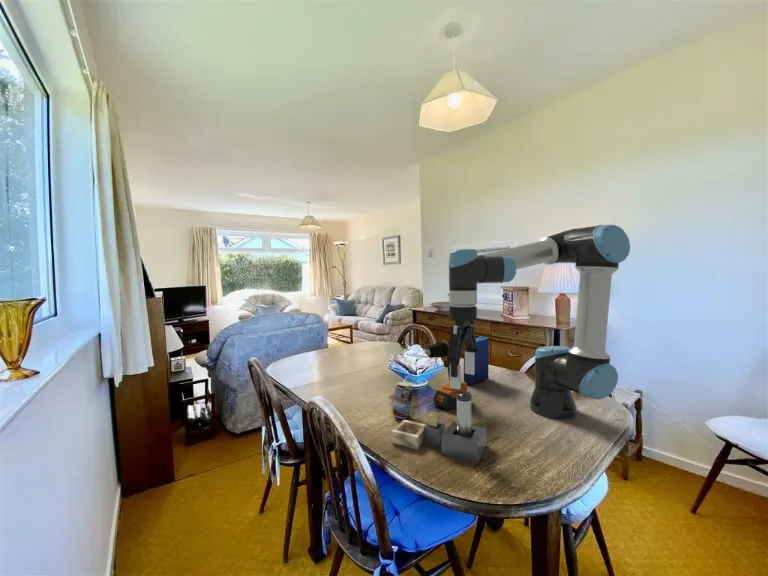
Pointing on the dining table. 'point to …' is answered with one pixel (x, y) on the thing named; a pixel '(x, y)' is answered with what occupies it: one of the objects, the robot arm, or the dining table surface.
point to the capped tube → (464, 414)
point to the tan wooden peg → (434, 419)
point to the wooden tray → (408, 434)
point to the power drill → (445, 394)
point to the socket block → (456, 441)
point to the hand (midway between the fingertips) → (462, 380)
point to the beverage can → (402, 400)
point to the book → (479, 362)
